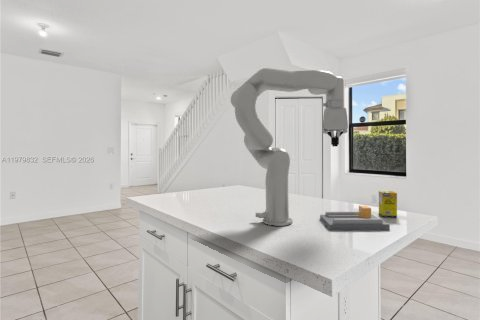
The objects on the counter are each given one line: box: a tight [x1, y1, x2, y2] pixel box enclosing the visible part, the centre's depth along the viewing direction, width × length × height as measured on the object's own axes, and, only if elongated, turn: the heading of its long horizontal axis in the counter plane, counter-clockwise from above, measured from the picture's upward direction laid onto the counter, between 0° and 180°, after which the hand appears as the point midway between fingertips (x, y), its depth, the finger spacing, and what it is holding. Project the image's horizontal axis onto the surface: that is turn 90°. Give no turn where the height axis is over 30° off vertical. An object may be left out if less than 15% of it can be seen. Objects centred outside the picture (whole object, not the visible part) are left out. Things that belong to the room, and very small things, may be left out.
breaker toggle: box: [358, 205, 372, 218], centre depth 111 cm, size 3×5×5 cm, turn 176°
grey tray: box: [324, 210, 384, 224], centre depth 111 cm, size 18×14×2 cm
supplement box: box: [378, 190, 398, 219], centre depth 123 cm, size 6×6×11 cm
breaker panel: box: [319, 213, 391, 231], centre depth 111 cm, size 22×16×3 cm
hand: (334, 146), depth 123 cm, fingers closed
